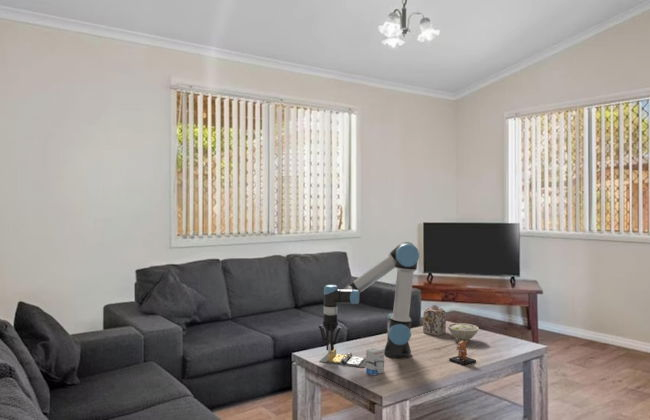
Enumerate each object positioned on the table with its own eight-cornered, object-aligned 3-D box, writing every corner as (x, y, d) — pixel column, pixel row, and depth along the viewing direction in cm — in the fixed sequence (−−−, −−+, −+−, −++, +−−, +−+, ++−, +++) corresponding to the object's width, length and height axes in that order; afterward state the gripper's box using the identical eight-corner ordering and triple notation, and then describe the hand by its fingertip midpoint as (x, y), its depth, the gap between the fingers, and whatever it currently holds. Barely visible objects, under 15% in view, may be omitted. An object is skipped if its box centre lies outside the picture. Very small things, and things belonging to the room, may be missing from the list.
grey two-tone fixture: (370, 359, 266) (370, 359, 266) (364, 367, 252) (364, 367, 252) (327, 354, 274) (327, 353, 274) (319, 362, 261) (319, 361, 261)
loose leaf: (351, 357, 268) (351, 350, 268) (345, 364, 256) (345, 356, 256) (334, 355, 271) (334, 348, 271) (327, 362, 260) (327, 354, 260)
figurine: (449, 361, 265) (449, 339, 265) (461, 357, 271) (461, 336, 271) (464, 366, 257) (464, 343, 257) (476, 362, 263) (476, 340, 263)
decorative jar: (429, 329, 330) (430, 303, 330) (446, 332, 324) (446, 305, 323) (422, 333, 321) (422, 306, 320) (439, 336, 314) (439, 308, 314)
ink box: (372, 375, 241) (372, 352, 241) (365, 373, 245) (365, 349, 245) (384, 372, 246) (384, 349, 246) (377, 369, 250) (377, 346, 250)
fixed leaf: (364, 358, 266) (364, 353, 266) (358, 366, 253) (358, 360, 253) (347, 356, 269) (347, 351, 269) (340, 364, 257) (340, 358, 257)
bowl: (442, 342, 301) (442, 326, 300) (452, 335, 317) (452, 319, 317) (474, 347, 290) (474, 330, 290) (482, 339, 307) (482, 324, 307)
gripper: (343, 313, 266) (343, 355, 267) (321, 311, 271) (321, 353, 271) (339, 316, 259) (339, 359, 260) (316, 314, 264) (316, 357, 264)
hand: (330, 356), depth 266 cm, fingers closed
